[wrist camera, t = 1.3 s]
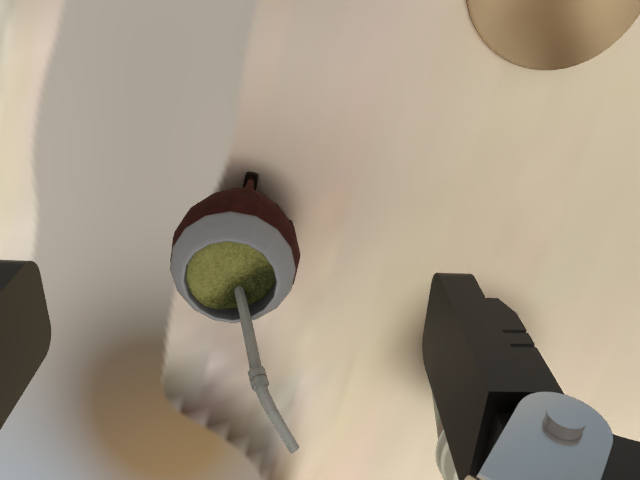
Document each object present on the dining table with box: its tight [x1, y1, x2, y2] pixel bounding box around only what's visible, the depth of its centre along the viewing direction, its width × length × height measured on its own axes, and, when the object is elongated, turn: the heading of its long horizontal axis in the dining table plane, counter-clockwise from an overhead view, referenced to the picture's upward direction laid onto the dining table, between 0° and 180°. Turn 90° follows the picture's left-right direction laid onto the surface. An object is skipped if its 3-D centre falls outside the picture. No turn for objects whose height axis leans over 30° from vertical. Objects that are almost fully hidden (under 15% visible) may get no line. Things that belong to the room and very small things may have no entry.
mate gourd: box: [170, 172, 300, 453], centre depth 30 cm, size 8×8×15 cm
